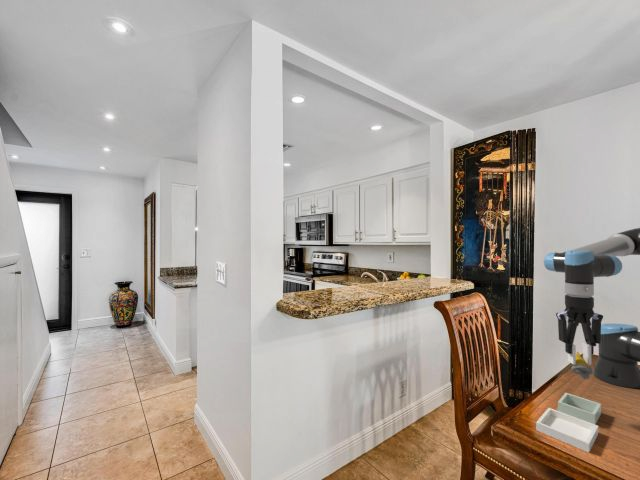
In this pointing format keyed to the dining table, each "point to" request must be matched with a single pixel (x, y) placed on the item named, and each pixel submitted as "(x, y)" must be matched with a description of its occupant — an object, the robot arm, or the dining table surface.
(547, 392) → the dining table surface
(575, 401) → the pale green square frame
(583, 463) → the dining table surface
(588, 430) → the tray
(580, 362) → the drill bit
